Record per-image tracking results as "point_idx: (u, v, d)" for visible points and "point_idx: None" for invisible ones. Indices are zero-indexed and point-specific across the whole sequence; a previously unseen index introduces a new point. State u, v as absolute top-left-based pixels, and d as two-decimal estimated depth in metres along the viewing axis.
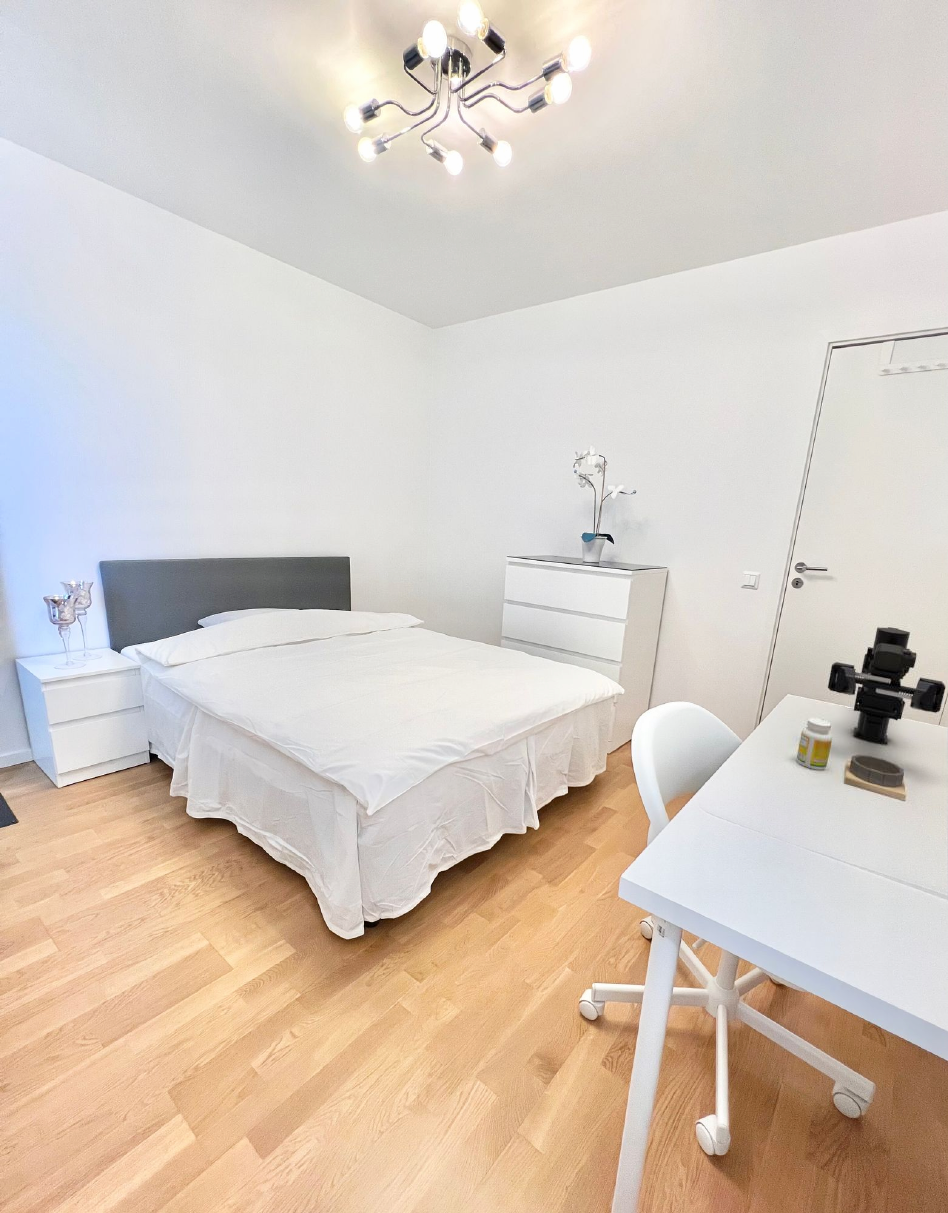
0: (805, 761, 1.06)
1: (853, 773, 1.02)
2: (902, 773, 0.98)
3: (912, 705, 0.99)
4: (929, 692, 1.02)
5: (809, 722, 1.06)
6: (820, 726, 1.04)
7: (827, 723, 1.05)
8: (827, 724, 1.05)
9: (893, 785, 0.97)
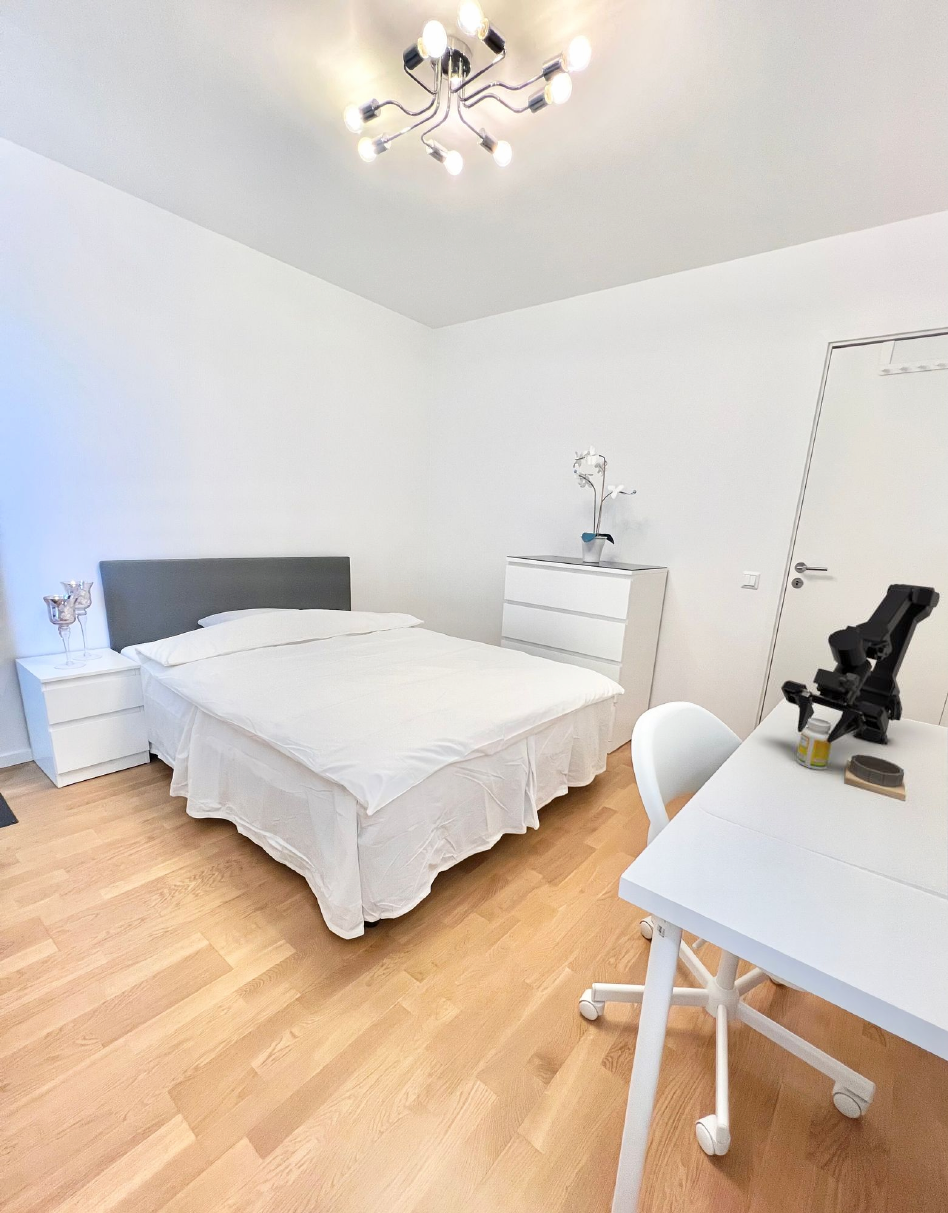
0: (805, 760, 1.06)
1: (853, 773, 1.02)
2: (902, 773, 0.98)
3: (829, 742, 1.04)
4: (856, 718, 1.03)
5: (809, 722, 1.06)
6: (820, 726, 1.04)
7: (827, 723, 1.05)
8: (827, 724, 1.05)
9: (893, 785, 0.97)
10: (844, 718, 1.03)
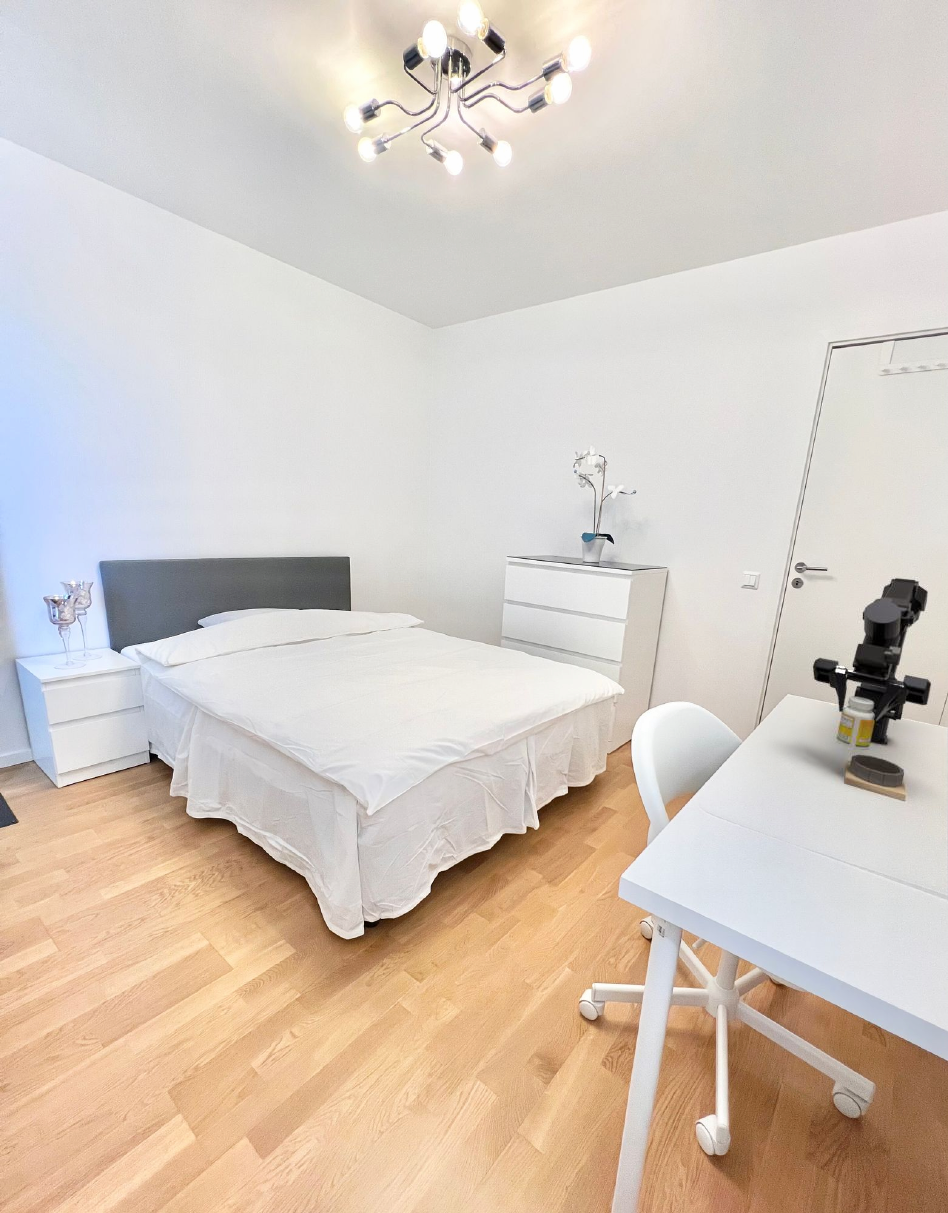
0: (850, 742, 1.01)
1: (853, 773, 1.02)
2: (902, 773, 0.98)
3: (875, 720, 0.99)
4: (900, 693, 0.99)
5: (852, 701, 1.01)
6: (865, 704, 0.99)
7: (869, 701, 1.01)
8: (871, 702, 1.00)
9: (893, 785, 0.97)
10: (888, 694, 0.99)
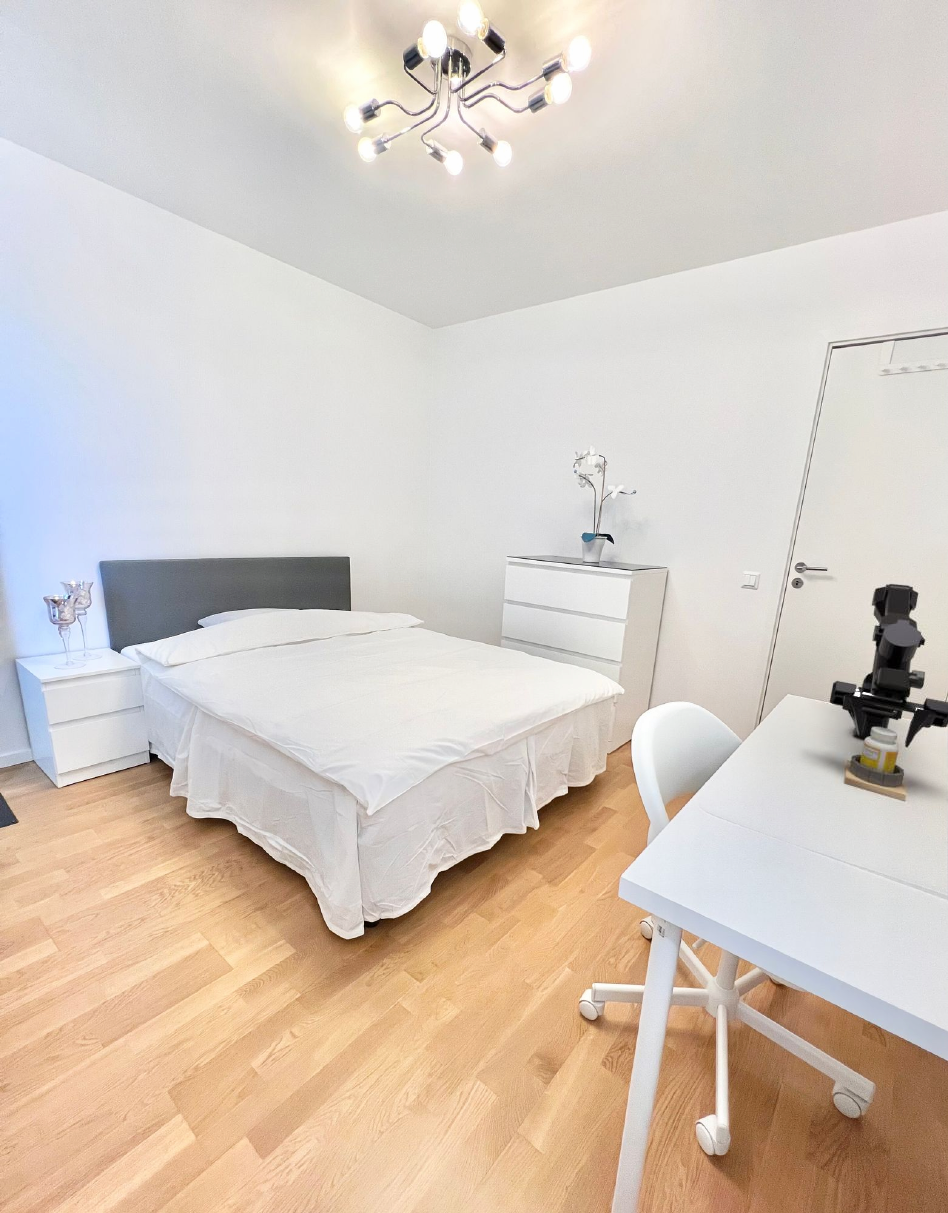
0: None
1: (853, 773, 1.02)
2: (902, 773, 0.98)
3: (907, 746, 0.97)
4: (928, 717, 0.97)
5: (877, 733, 0.99)
6: (891, 736, 0.98)
7: (892, 731, 1.00)
8: (894, 733, 0.99)
9: (893, 785, 0.97)
10: (918, 719, 0.97)
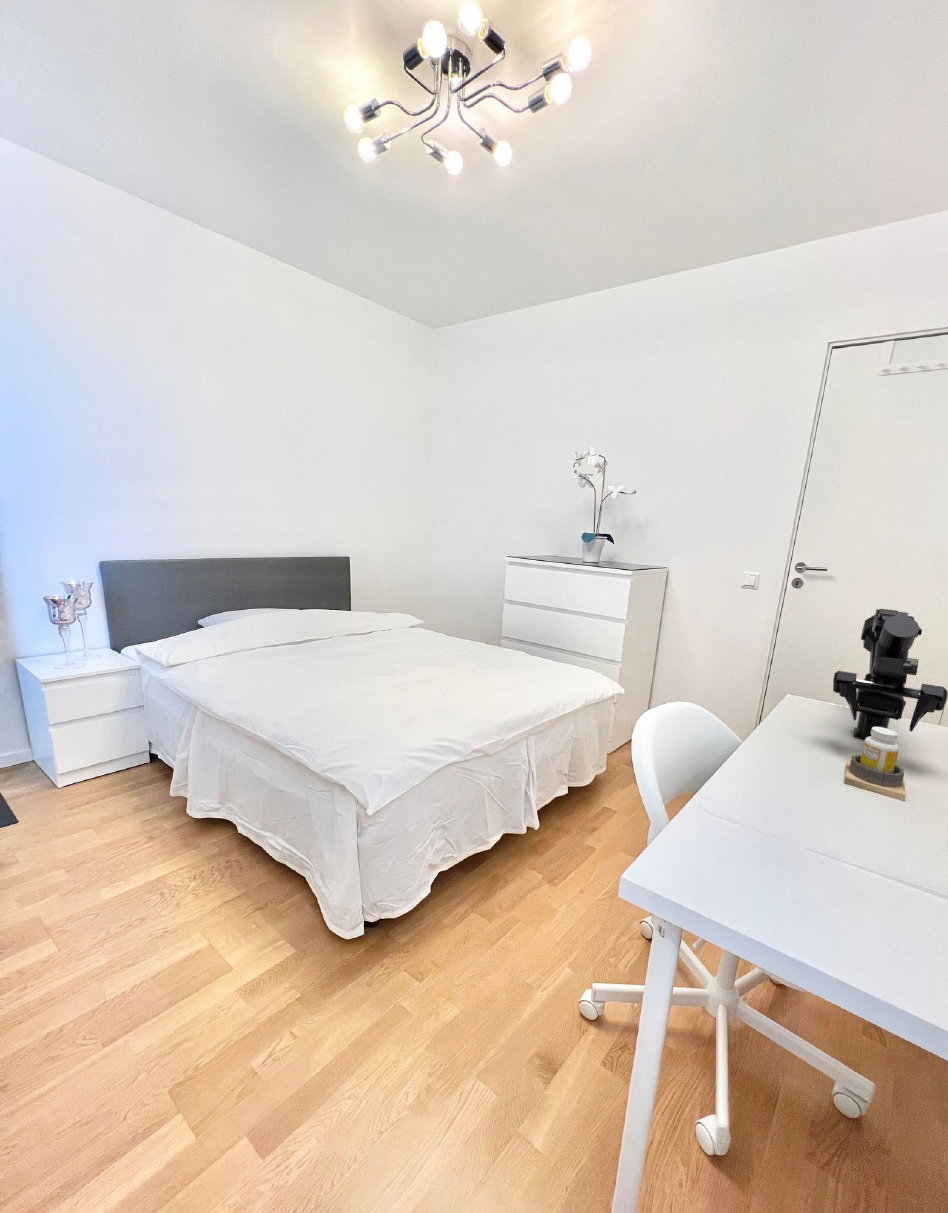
0: None
1: (853, 773, 1.02)
2: (902, 773, 0.98)
3: (911, 730, 1.04)
4: (930, 703, 1.04)
5: (877, 733, 0.99)
6: (891, 736, 0.98)
7: (892, 731, 1.00)
8: (894, 733, 0.99)
9: (893, 785, 0.97)
10: (920, 704, 1.04)
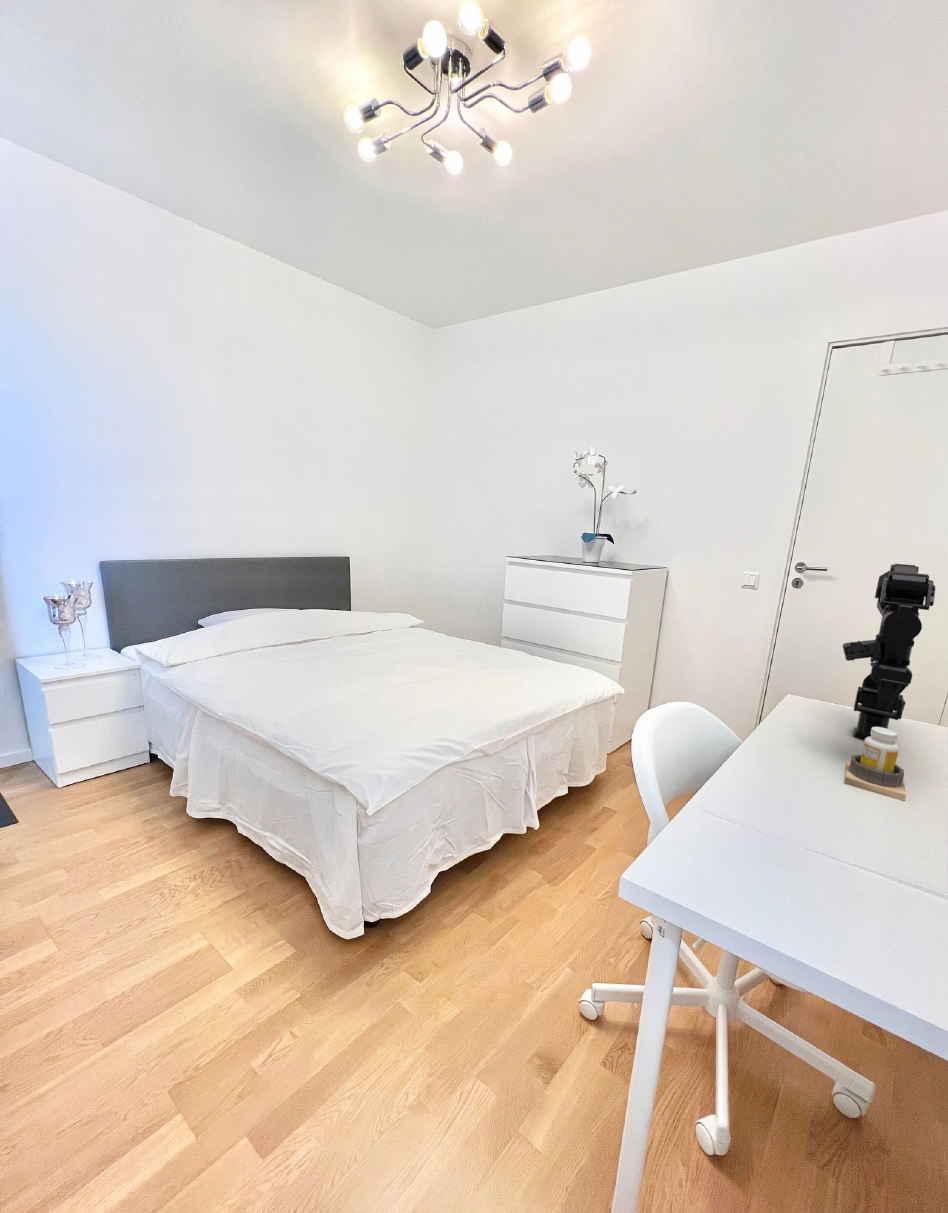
0: None
1: (853, 773, 1.02)
2: (902, 773, 0.98)
3: (884, 709, 1.05)
4: None
5: (877, 733, 0.99)
6: (891, 736, 0.98)
7: (892, 731, 1.00)
8: (894, 733, 0.99)
9: (893, 785, 0.97)
10: (877, 684, 1.05)
